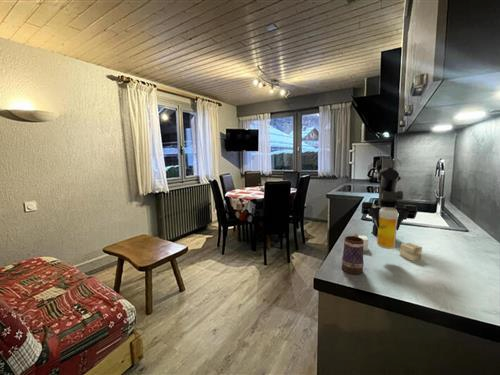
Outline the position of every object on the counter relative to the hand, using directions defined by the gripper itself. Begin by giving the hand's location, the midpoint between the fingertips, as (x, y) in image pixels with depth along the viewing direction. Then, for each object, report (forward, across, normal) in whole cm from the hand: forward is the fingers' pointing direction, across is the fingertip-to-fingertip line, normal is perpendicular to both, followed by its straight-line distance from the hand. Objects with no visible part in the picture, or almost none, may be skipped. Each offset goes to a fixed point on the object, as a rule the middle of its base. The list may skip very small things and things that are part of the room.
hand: (387, 228), depth 87 cm
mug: (+18, -11, +1) cm, 21 cm away
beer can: (+5, 0, +6) cm, 8 cm away
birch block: (+3, +9, +16) cm, 19 cm away
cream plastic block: (+2, -9, +17) cm, 19 cm away
